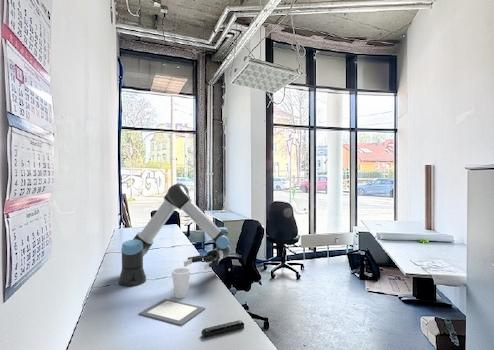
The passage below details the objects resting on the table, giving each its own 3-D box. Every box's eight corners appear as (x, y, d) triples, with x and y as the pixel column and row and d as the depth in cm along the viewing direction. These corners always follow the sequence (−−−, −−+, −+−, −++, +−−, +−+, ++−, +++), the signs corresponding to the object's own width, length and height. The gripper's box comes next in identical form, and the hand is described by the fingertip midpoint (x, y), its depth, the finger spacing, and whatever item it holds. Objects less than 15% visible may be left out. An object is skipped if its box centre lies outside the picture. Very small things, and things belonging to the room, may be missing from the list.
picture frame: (138, 314, 144) (138, 312, 144) (165, 299, 160) (165, 298, 160) (181, 325, 134) (181, 324, 134) (205, 309, 150) (205, 307, 150)
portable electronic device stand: (203, 339, 124) (203, 331, 124) (201, 336, 126) (201, 328, 126) (244, 329, 132) (244, 322, 132) (241, 326, 134) (241, 319, 134)
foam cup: (194, 294, 167) (194, 269, 167) (182, 300, 159) (182, 274, 159) (180, 290, 172) (180, 267, 172) (168, 296, 164) (168, 271, 164)
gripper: (232, 264, 190) (214, 275, 171) (197, 259, 200) (176, 269, 181) (232, 251, 190) (214, 261, 170) (197, 247, 200) (176, 256, 181)
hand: (194, 265), depth 176 cm, fingers open, 13 cm apart
